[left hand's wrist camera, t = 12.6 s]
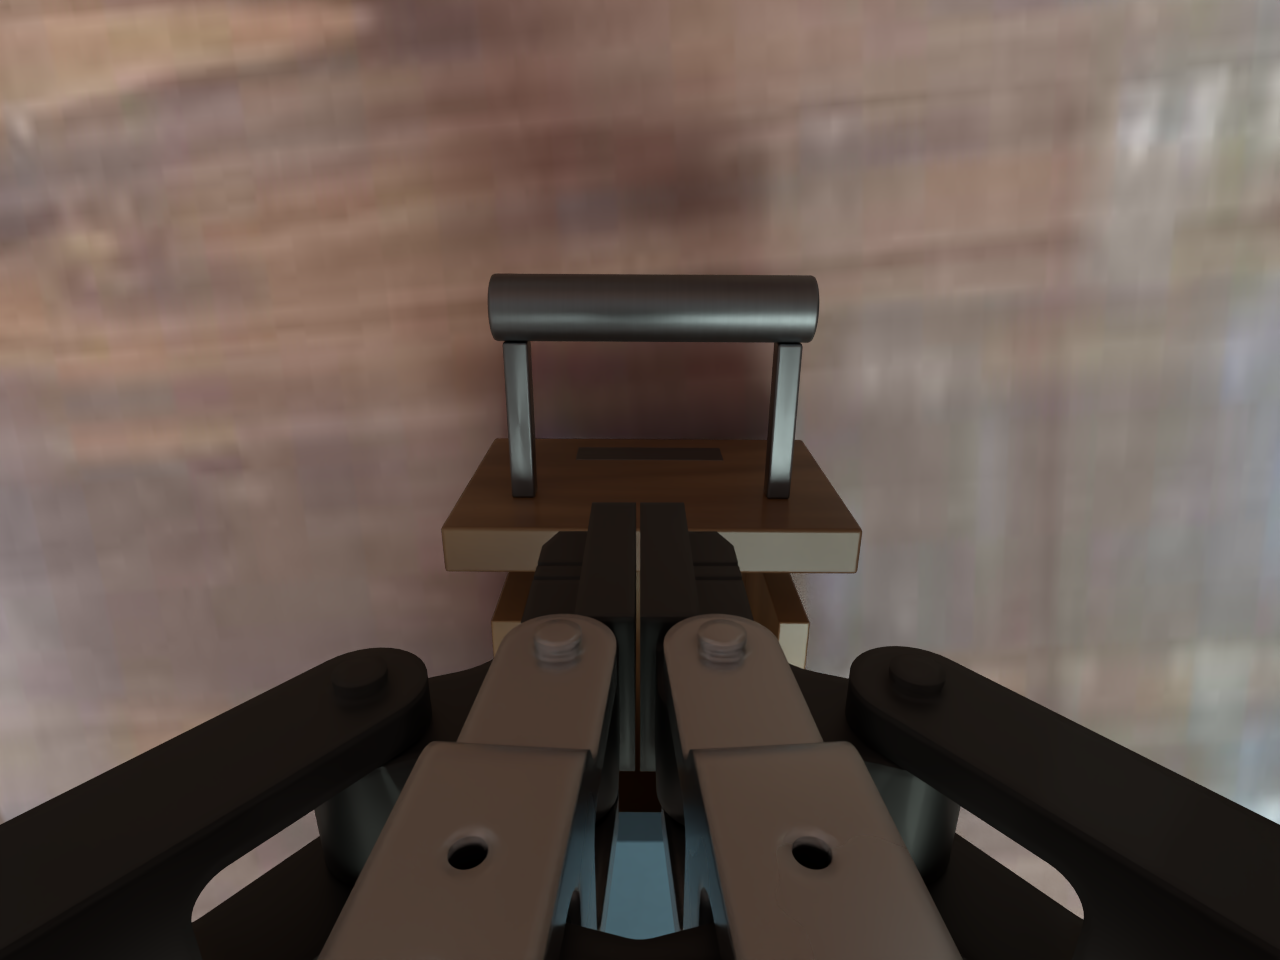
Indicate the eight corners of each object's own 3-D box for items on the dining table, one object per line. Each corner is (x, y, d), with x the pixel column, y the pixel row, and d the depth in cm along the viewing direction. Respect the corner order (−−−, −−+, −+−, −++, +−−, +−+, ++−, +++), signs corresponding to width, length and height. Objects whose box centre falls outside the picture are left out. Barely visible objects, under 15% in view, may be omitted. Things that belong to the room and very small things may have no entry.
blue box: (499, 646, 28) (437, 840, 19) (792, 647, 28) (859, 842, 19) (526, 1010, 35) (490, 1265, 27) (758, 1011, 35) (794, 1266, 27)
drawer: (482, 257, 22) (414, 282, 15) (818, 260, 22) (894, 286, 15) (525, 876, 31) (494, 1058, 24) (762, 877, 31) (795, 1060, 24)
